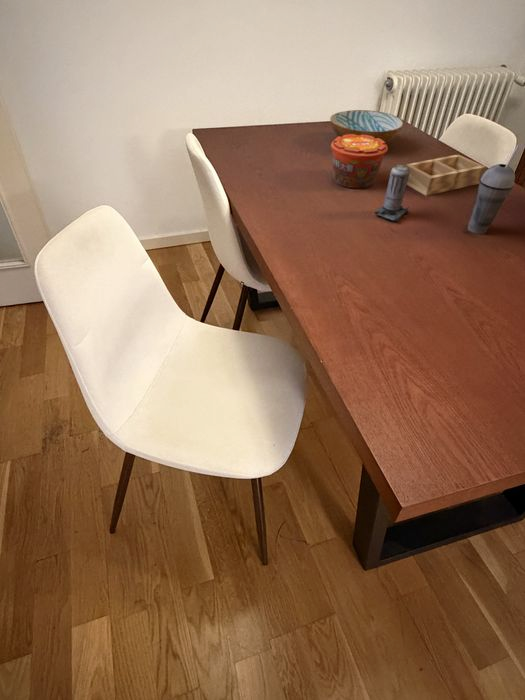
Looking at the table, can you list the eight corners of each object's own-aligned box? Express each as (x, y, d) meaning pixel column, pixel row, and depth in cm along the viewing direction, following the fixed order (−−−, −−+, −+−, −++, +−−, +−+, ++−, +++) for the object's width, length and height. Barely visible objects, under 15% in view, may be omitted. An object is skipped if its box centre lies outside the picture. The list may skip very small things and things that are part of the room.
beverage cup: (466, 219, 104) (499, 136, 90) (495, 228, 101) (534, 142, 87) (457, 230, 100) (490, 144, 85) (488, 239, 97) (527, 152, 82)
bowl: (314, 147, 141) (316, 122, 135) (346, 129, 156) (349, 106, 150) (381, 163, 131) (387, 136, 125) (408, 142, 146) (414, 117, 140)
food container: (345, 195, 113) (351, 155, 106) (317, 174, 124) (321, 137, 116) (391, 186, 118) (400, 147, 111) (360, 167, 128) (367, 130, 121)
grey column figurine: (380, 205, 109) (391, 159, 101) (409, 211, 107) (422, 164, 98) (371, 219, 103) (382, 171, 95) (401, 226, 101) (415, 178, 93)
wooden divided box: (452, 170, 127) (458, 154, 124) (479, 183, 120) (485, 166, 117) (400, 181, 121) (405, 164, 117) (425, 195, 114) (431, 178, 110)
